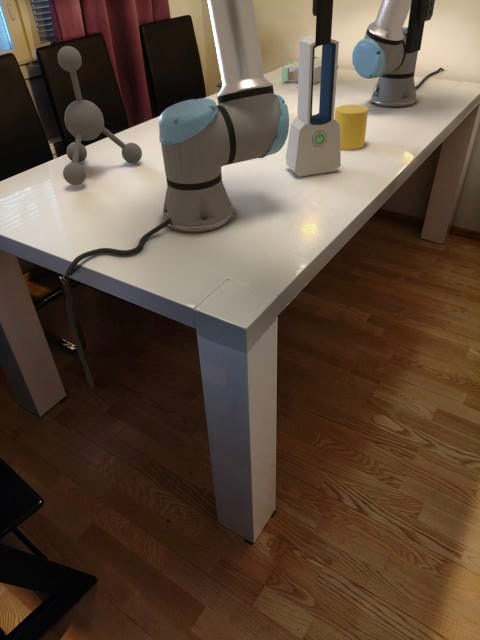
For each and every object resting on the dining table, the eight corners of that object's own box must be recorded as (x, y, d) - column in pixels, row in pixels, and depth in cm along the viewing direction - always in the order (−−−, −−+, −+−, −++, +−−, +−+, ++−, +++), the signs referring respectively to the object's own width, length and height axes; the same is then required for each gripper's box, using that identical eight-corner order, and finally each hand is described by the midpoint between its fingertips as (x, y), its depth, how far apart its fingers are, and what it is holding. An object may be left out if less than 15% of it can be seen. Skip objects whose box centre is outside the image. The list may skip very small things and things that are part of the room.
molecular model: (153, 175, 128) (132, 46, 109) (67, 191, 122) (30, 58, 104) (135, 149, 145) (114, 34, 127) (59, 162, 140) (26, 43, 121)
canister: (369, 142, 140) (373, 107, 134) (354, 151, 135) (358, 115, 129) (342, 137, 145) (345, 103, 139) (327, 146, 140) (329, 110, 134)
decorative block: (304, 54, 217) (345, 57, 207) (303, 70, 221) (343, 73, 211) (272, 65, 201) (315, 69, 191) (272, 82, 205) (314, 86, 195)
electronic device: (294, 177, 122) (297, 41, 104) (284, 167, 128) (285, 37, 109) (340, 170, 124) (351, 36, 106) (328, 161, 130) (337, 32, 112)
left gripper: (523, -199, 47) (469, 50, 60) (313, -158, 61) (307, 36, 74) (492, -209, 43) (441, 61, 56) (274, -162, 57) (275, 44, 70)
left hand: (364, 47), depth 65 cm, fingers open, 13 cm apart
